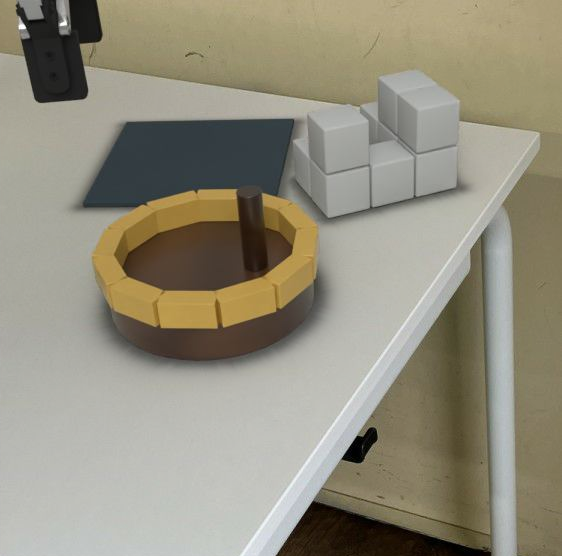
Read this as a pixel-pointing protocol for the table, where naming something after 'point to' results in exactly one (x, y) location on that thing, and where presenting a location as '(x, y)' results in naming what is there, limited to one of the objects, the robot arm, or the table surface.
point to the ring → (204, 304)
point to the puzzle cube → (381, 147)
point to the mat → (191, 159)
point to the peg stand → (213, 282)
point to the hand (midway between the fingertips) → (71, 69)
